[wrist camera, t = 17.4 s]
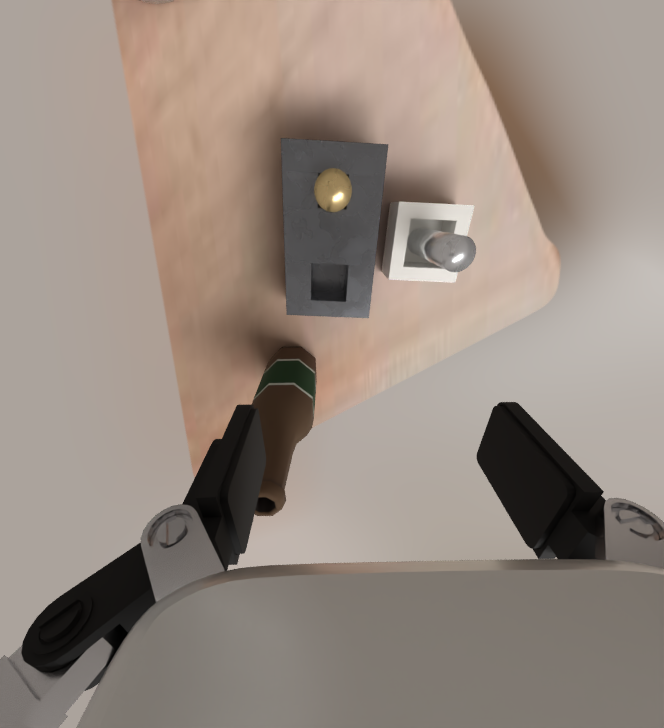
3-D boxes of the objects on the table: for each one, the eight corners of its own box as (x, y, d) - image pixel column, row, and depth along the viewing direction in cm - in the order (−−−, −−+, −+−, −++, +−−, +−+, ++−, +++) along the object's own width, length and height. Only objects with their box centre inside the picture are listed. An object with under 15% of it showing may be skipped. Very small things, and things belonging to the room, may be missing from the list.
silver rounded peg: (409, 227, 34) (445, 234, 24) (433, 228, 34) (480, 236, 24) (405, 253, 36) (437, 271, 25) (428, 254, 36) (470, 273, 25)
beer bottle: (305, 336, 42) (281, 462, 21) (326, 376, 45) (324, 520, 24) (259, 354, 43) (194, 490, 22) (283, 392, 47) (246, 541, 26)
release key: (317, 174, 31) (314, 166, 26) (349, 176, 32) (353, 169, 26) (316, 211, 33) (314, 211, 28) (346, 212, 33) (350, 213, 28)
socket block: (289, 150, 31) (280, 138, 26) (378, 155, 32) (388, 144, 26) (292, 300, 39) (286, 314, 34) (363, 303, 40) (368, 318, 34)
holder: (390, 202, 34) (399, 201, 29) (455, 206, 34) (474, 205, 30) (381, 271, 38) (388, 279, 33) (440, 274, 38) (455, 282, 33)
